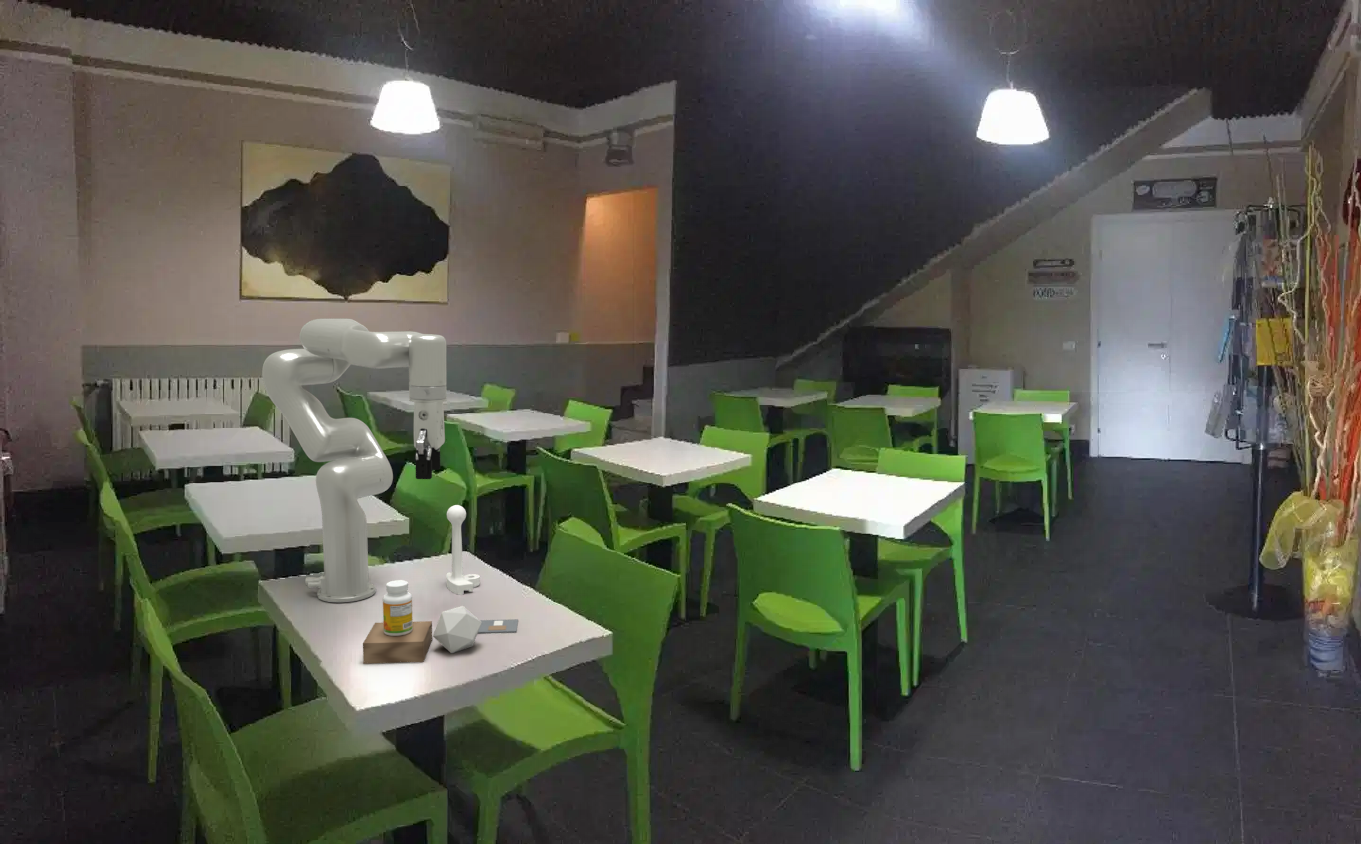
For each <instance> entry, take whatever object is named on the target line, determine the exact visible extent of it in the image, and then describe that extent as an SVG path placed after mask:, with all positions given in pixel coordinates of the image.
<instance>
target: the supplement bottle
mask: <svg viewBox="0 0 1361 844" xmlns="http://www.w3.org/2000/svg"><path fill="white" fill-rule="evenodd" d="M385 586H386V592H387V593H385V594H384V595H383V598H382V615H383V617H382V618H383V619H382V620H383V621H382V622H383V623H384V633H385V634H386V635H389V636H401V635H406V634H408V633H410V632H411V631H412V630H413V622H414V621H413V620H414V619H413V596H412V593H410V592H409V591H408V590H409V582H408V581H407V580H404V579H397V580H396V579H395V580H391V581H388V582H387V583H386V585H385Z"/></svg>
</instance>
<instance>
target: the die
mask: <svg viewBox="0 0 1361 844" xmlns="http://www.w3.org/2000/svg"><path fill="white" fill-rule="evenodd" d="M480 620H481V619H479V618H478V617H477V616H476V615H474V614H473V613H472V612H471V611H470V610H469V609H468V608H466V607H465V606H464V605H461V606H457V607H453V608H451V609H447V610H444V611H441V614H440V615H439V619H438V621H437V624H436V626H435V629H434V632H433V633H432V638H433V639H435V640H436V641H437V642H438V643H440V644H441V646H443V647H444V648H445V649H446V650H447V651H448V652H450V653H451V654H454V653H458V652H459V651H463V650H465V649H468V648H471V647H474V643H475V641H476V638H477V636H478V631H479V628H480V626H481V623H482V622H481V621H480Z"/></svg>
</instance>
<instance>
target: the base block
mask: <svg viewBox="0 0 1361 844" xmlns="http://www.w3.org/2000/svg"><path fill="white" fill-rule="evenodd" d="M366 635H367V636H366V637H365V639H364V640H363V643H362V660H363V661H362V662H363V665H365V664H366V665H369V664H372V665H373V664H395V663H396V664H397V663H398V664H399V663H424V662H425V659H426V658H427V655H428V652H429V649H430V647H431V645H432V642H433V621H432V620H429V621H428V620H423V621H413V630H412V631H411V632H410V633H408V634H406V635H401V636H389V635H386V634H385V633H384V623H383V621H382V622H374V623H373V625H372V627H371V629H370V630H369V632H368V634H366Z"/></svg>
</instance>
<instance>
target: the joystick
mask: <svg viewBox="0 0 1361 844" xmlns="http://www.w3.org/2000/svg"><path fill="white" fill-rule="evenodd" d="M466 517H467V512H466V509H465V508H464V507H463V506H461V505H459V504H455V505H452V506H450V507H449V508H448V509H447V511H446V519H447V520H448V521H449V522H450V523H451V572H447V573H446V576H445V577H446V587H447V589H448V590H449V591H450V592H451V593H453V594H455V595H459V596H462V595H464V594H465V593H464V591H466V592H473V591H474V589H473V588H477V587H479V585H480V584H481V576H480V574H475V573H474V574H473V573H469V574H464V567H463V563H464V562H463V545H462V544H463V543H462V542H463V541H462V524H463V522H464V521H465V520H466Z"/></svg>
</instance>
